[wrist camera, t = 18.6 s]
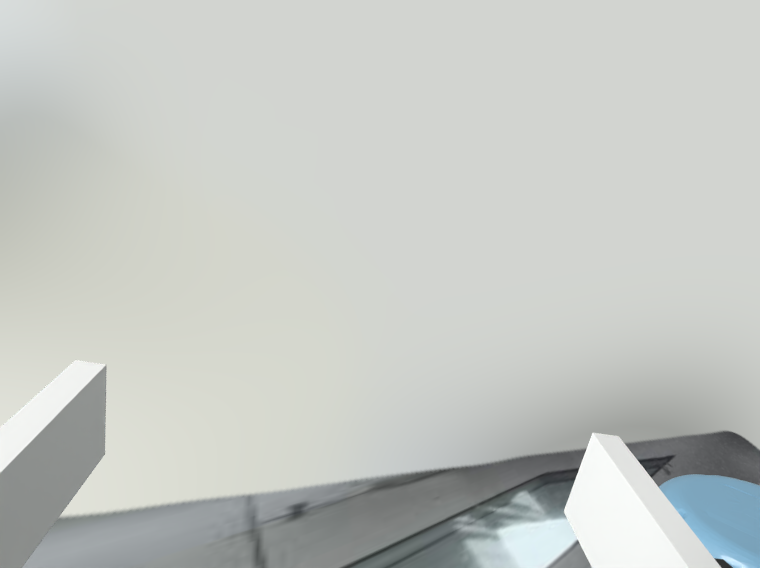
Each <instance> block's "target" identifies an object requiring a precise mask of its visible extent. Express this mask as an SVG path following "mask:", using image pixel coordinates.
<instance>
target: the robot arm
mask: <svg viewBox="0 0 760 568" xmlns="http://www.w3.org/2000/svg"><path fill="white" fill-rule="evenodd" d="M105 409H106V364H99V363H92V362H84V361H78V360H75V361H74V362H73V363H72V364H70V365H69V366H68V367H67V368H66V369H65V370H64V371H63V372H61V373H60V374H59V375H58V376H57V377H56V378H55V379H54V380H53V381H51V382H50V383H49V384H48V385H47V386H46V387H45V388H44V389H42V390H41V392H39V393H38V394H37V395H36V396H35V397H34V398H32V399H31V400H30V401H29V402H28V403H27V404H26V405H25V406H23V407H22V408H21V409H20V410H19V411H18V412H17V413H16V414H14V416H12V417H11V418H10V419H9V420H8V421H7V422H6V423H5V424H3V425H2V426H1V427H0V568H22V567H23V565H24V564H25V563H26V561H27V560H28V559H29V557H30V556H31V554H32V553H33V552H34V550H35V549H36V548H37V546H38V545H39V544H40V542H41V541H42V539H43V538H44V537H45V535H46V534H47V533H48V531H49V530H50V528H51V527H52V526H53V524H54V523H55V522H56V520H57V519H58V518H59V516H60V515H61V513H62V512H63V511H64V509H65V508H66V507H67V505H68V504H69V502H70V501H71V500H72V498H73V497H74V496H75V494H76V493H77V492H78V490H79V489H80V487H81V486H82V485H83V483H84V482H85V481H86V479H87V478H88V476H89V475H90V474H91V472H92V471H93V470H94V468H95V467H96V465H97V464H98V463H99V462H100V460H101V459H102V457H103V456H104V455H105V416H106V415H105V413H106V410H105ZM564 513H565V515H566V517H567V519H568V521H569V523H570V525H571V527H572V529H573V531H574V533H575V535H576V537H577V539H578V541H579V543H580V545H581V547H582V549H583V550H584V552H585V554H586V556H587V558H588V560H589V562H590V564H591V566H592V568H760V486H759V485H756V484H753V483H750V482H746V481H742V480H738V479H734V478H729V477H724V476H717V475H710V476H709V475H700V474H694V475H684V476H680V477H676V478H673V479H671V480H668V481H667V482H665V483H663V484H662V485H661V486H659V487H658V486H657V485H656V484H655V482H654V481H653V480H652V478H651V477H650V476H649V475H648V473H647V472H646V471H645V469H644V468H643V467H642V466H641V464H640V463H639V462H638V461H637V459H636V458H635V457H634V455H633V454H632V453H631V452H630V450H629V449H628V448H627V446H626V445H625V444H624V443H623V441H622V440H621V439H620V438H619V437H618V436H613V435H605V434H598V433H592V436H591V439H590V442H589V444H588V447H587V450H586V452H585V455H584V458H583V460H582V463H581V466H580V469H579V471H578V474H577V477H576V480H575V482H574V485H573V488H572V491H571V493H570V496H569V499H568V501H567V504H566V507H565V510H564Z"/></svg>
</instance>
